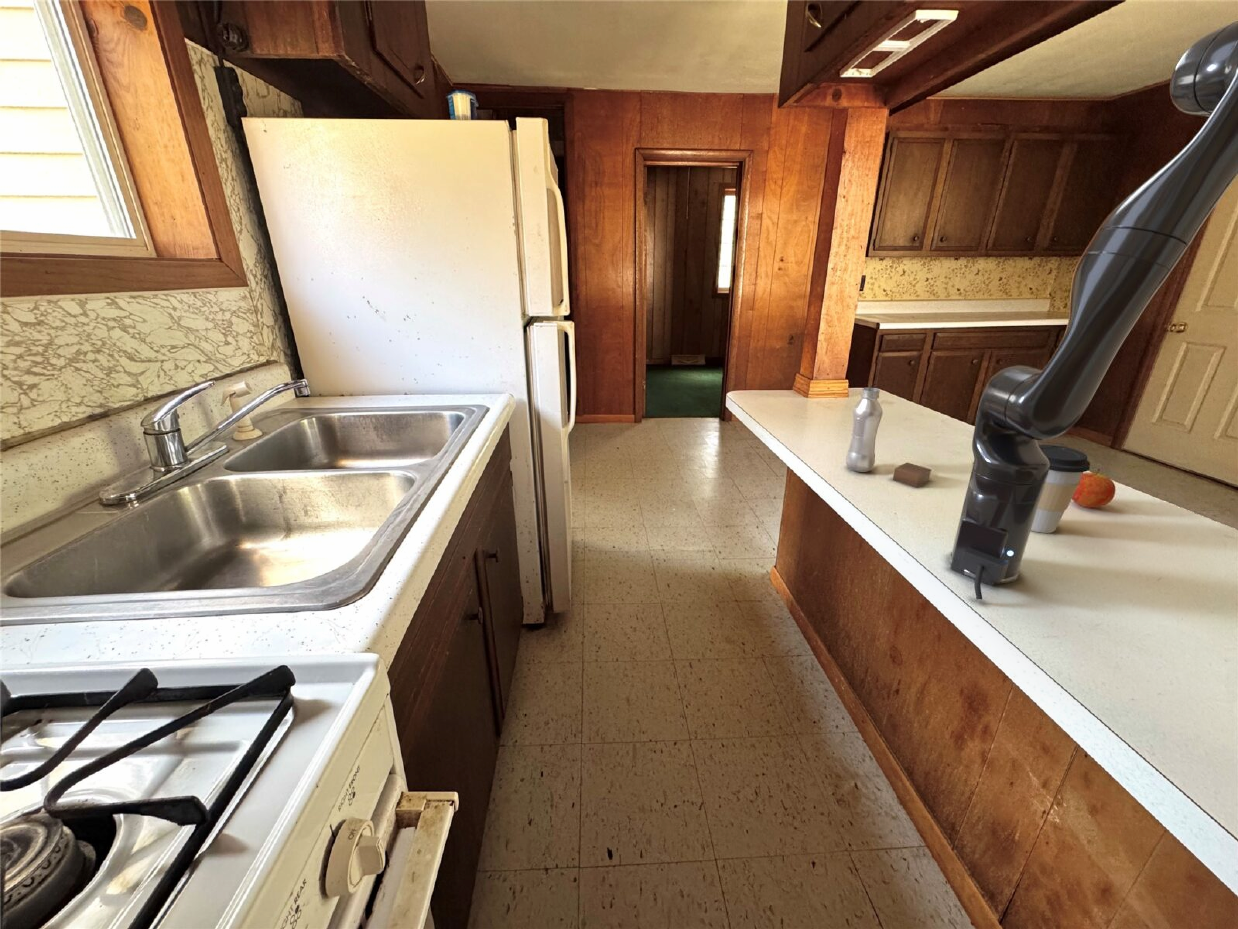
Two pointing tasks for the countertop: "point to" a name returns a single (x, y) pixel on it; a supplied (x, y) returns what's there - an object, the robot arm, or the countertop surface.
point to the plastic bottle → (864, 431)
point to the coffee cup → (1058, 485)
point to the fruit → (1094, 490)
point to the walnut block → (911, 474)
